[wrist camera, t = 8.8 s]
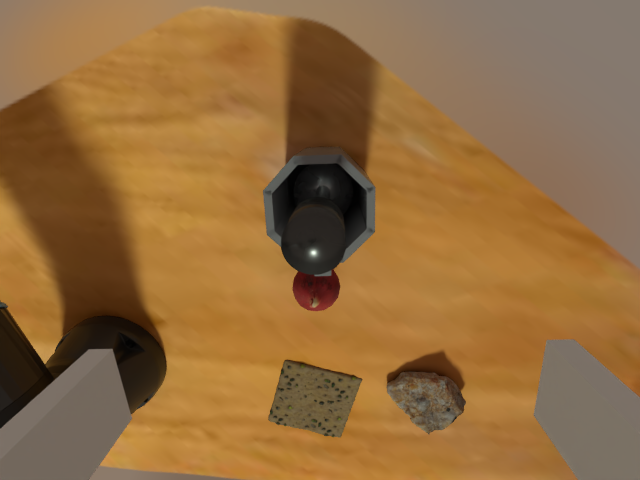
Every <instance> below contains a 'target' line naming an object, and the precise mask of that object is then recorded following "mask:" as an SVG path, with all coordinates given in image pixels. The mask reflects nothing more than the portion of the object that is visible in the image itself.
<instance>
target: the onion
mask: <svg viewBox="0 0 640 480" xmlns="http://www.w3.org/2000/svg"><path fill="white" fill-rule="evenodd" d="M339 290H340V283H339V279H338V276H337V275H336V273H335V271H334V270H333V269H332V270H331V276H315V275H310V274H305V273H302V272H300V271H298V273H297V274H296V276H295V278H294V282H293V293H294V296H295V299H296V300H297V302H298V303H299V304H300V306H302V307H303V308H305V309H307V310H311V311H321V310H325V309H327V308H328V307H330V306H332V304H333V303H334V302H335V301H336V299H337V298H338V295H339Z"/></svg>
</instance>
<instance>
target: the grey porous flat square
mask: <svg viewBox="0 0 640 480" xmlns="http://www.w3.org/2000/svg"><path fill="white" fill-rule="evenodd" d="M361 381H362V379H361V378H357V377H355V376H349V375H347V374H343V373H338V372H333V371H330V370H325V369H321V368H318V367H315V366H309V365H306V364H302V363H297V362H293V361H290V360H285V361H284V363H283V368H282V370H281V375H280V378H279V383H278V386H277V389H276V393H275V398H274V401H273V404H272V408H271V410H270V415H269V421H271V422H275V423H276V424H278V425H284V426H290V427H294V428H299V429H305V430H310V431H312V432H316V433H319V434H323V435H324V436H332V437H341V435H342V432H343V430H344V427H345V424H346V422H347V420H348V416H349V413H350V411H351V408H352V405H353V402H354V401H355V397H356V394H357V392H358V389H359V386H360V383H361Z"/></svg>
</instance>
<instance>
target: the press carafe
mask: <svg viewBox="0 0 640 480" xmlns="http://www.w3.org/2000/svg"><path fill="white" fill-rule="evenodd" d="M333 163H334V164H336V165H338V166H340V167H341V168H342V169H344V171H345V172H346V173H347V174H348V176H349V178H350V180H351V182H352V186H353V197H352V201H351V204H350V206H349V208H348V209H347V210H346V212H345V213H344V214H343V218H344V226H345V237H346V250H345V254H344V256H343V258H342V260H341V262H340V263H343V262H344V261H345V260H346V259H348V258H349V257H350V256H351V255H352V254H353V253H354V252H355V251H356V250H357V249H358V248H359V247H360V246H361V245H362V244H363V243H364V242H365V241H366V240H367V239H368V238H369V237H370V236H371V235H372V234H373V233H374V232H375V186H374V185H373V183H372V182H371V180H370V179H369V177H368V176H367V174H366V173H365V171H364V170H363V169H362V168H361V167H360V166H359V165H358V164H357V163H356V162H355V161H354V160H353V159H352V158H351V157H350V156H349V155H348V154H347V153H346V152H345V151H344V150H343V149H342V148H340V147H316V148H305V149H303V150H302V151H300V152H299V153H297V154H296V155H294V156H293V157H292V158H291V160H290V161H289V162H288V163H287V164H286V165H285V166H284V168H283V169H282V170H281V171H280V172H279V173H278V174H277V176H276V177H275V178H274V179H273V180H272V181H271V182H270V183H269V185H268V186H267V187H266V188H265V189H264V190H263V195H264V206H265V217H266V229H267V235H268V236H269V237H270V238H271V239H272V240H274V241H275V242H276V243H277V244H278V245H279V246H281V237H282V233H283V231H284V229H285V227H286V225H287V223H288V221H289V219H290V217H291V215H292V213H293V211H294V209H295V208H296V207H297V204H296V202H295V199H294V185H295V181H296V179H297V177H298V175H299V174H300V173H301V172H302V170H303V169H305V168H306V167H307V166H309V165H311V164H333ZM315 276H331V271H329V272H326V273H323V274H318V275H315Z"/></svg>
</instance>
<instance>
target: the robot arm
mask: <svg viewBox="0 0 640 480" xmlns="http://www.w3.org/2000/svg"><path fill="white" fill-rule="evenodd" d="M7 307H8V306H7V305H6V304H5V303H2V302H1V301H0V480H89V479H90V477H91V476H92V475H93V473H94V472H95V471H96V469H97V468H98V466H99V465H100V463H101V462H102V461H103V459H104V458H105V456H106V455H107V453H108V452H109V451H110V449H111V448H112V446H113V445H114V443H115V442H116V441H117V439H118V438H119V436H120V435H121V433H122V432H123V431H124V429H125V428H126V426H127V425H128V423H129V422H130V421H131V419H132V417H131V414H132V413H134V412H135V411H136V410H137V409H138V408H140V407H142V406H143V405H145V404H146V403H147V402H148V401H150V399H151V398H152V397H153V396H154V395H155V393H156V392H157V390H158V389H159V388H160V386H161V385H162V383H163V381H164V378H165V374H166V361H165V357H164V354H163V352H162V350H161V348H160V346H159V344H158V343H157V342H156V340H155V339H154V338H153V337H152V336H151V335H150V334H149V333H148V332H147V331H146V330H144V329H143V328H141V327H140V326H138V325H137V324H135V323H133V322H131V321H128V320H125V319H122V318H118V317H113V316H98V317H93V318H89V319H86V320H84V321H82V322H81V323H79V324H78V325H77V326H75V327H74V328H73V329H71V330H70V331H69V332H68V333H66V334H65V335H64V336H63V338H62V339H61V340H60V342H59V343H58V345H57V347H56V349H55V353H54V354H53V355H52V356H51V357H50V358H49V360H48V361H47V363H46V364H44V363H43V361H42V360H41V358H40V357H39V355H38V354H37V352H36V351H35V349H34V348H33V346H32V345H31V343H30V342H29V340H28V339H27V338H26V336H25V335H24V333H23V332H22V330H21V329H20V327H19V326H18V324H17V323H16V321H15V320H14V318H13V317H12V315H11V314H10V312H9V311H8V310H7ZM534 416H535V418H536V419H537V421H538V422H539V424H540V425H541V427H542V428H543V429H544V431H545V432H546V434H547V435H548V437H549V438H550V440H551V441H552V442H553V444H554V445H555V447H556V448H557V450H558V451H559V453H560V454H561V456H562V457H563V458H564V460H565V461H566V463H567V464H568V466H569V467H570V469H571V470H572V471H573V473H574V474H575V476H576V477H577V479H578V480H640V397H638V396H637V395H636V394H635V393H634V392H633V391H632V390H631V389H629V388H628V387H627V386H626V385H625V384H624V383H623V382H621V381H620V380H619V379H618V378H617V377H616V376H615V375H614V374H612V373H611V372H610V371H609V370H608V369H607V368H606V367H605V366H603V365H602V364H601V363H600V362H599V361H598V360H597V359H596V358H594V357H593V356H592V355H591V354H590V353H589V352H588V351H586V350H585V349H584V348H583V347H582V346H581V345H580V344H579V343H577V342H576V341H575V340H547V341H546V347H545V353H544V359H543V365H542V370H541V376H540V382H539V388H538V394H537V399H536V405H535V411H534Z"/></svg>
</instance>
